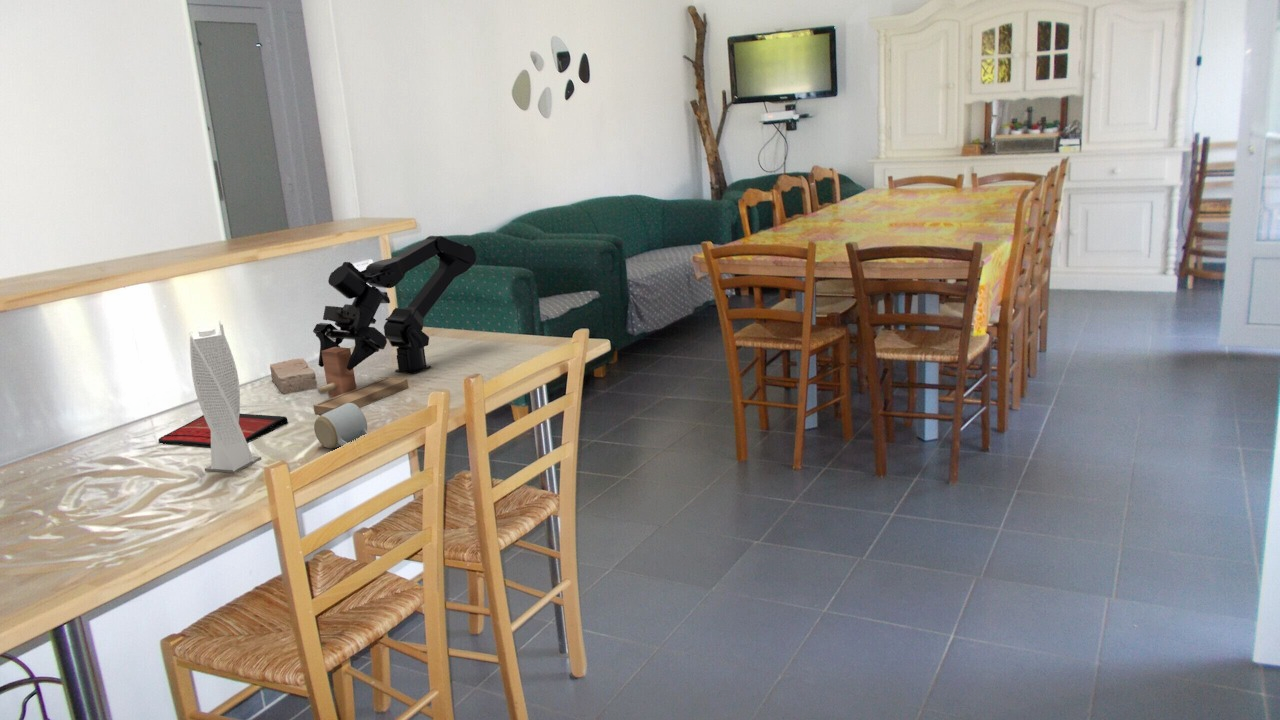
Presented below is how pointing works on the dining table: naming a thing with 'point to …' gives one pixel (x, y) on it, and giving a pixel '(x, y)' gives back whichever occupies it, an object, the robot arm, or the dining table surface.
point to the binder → (201, 432)
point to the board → (363, 394)
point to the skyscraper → (219, 399)
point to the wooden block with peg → (337, 372)
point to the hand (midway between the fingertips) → (334, 367)
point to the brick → (293, 376)
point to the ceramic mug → (340, 425)
